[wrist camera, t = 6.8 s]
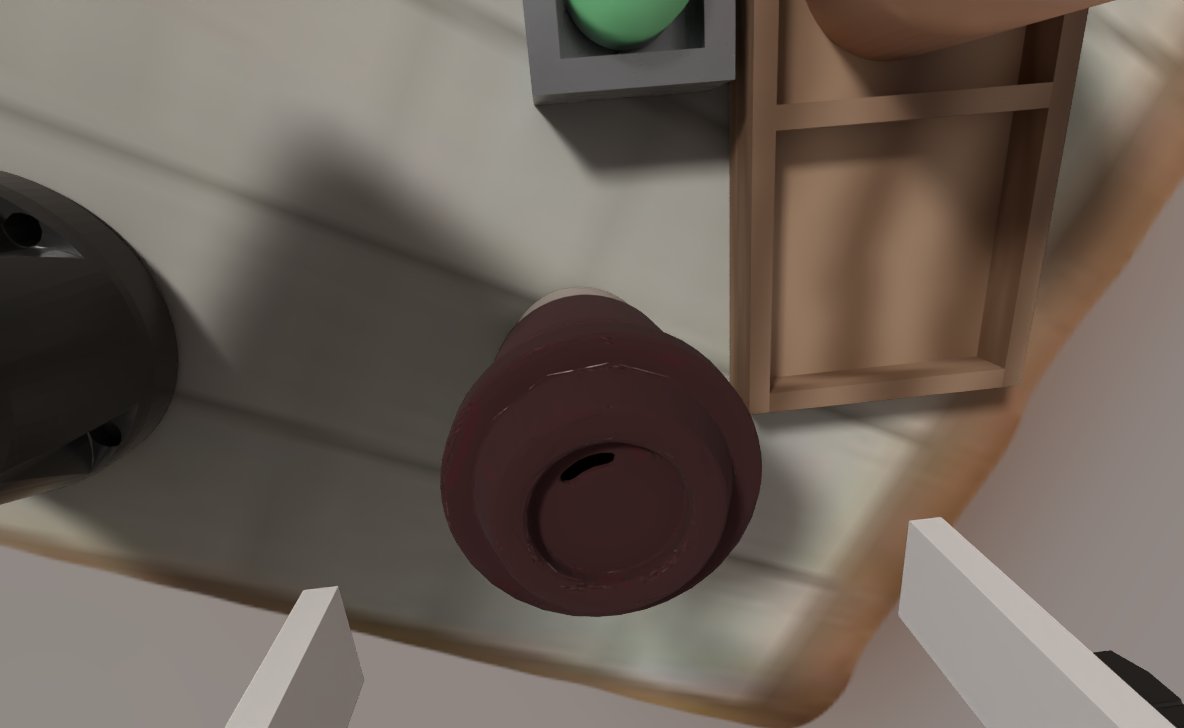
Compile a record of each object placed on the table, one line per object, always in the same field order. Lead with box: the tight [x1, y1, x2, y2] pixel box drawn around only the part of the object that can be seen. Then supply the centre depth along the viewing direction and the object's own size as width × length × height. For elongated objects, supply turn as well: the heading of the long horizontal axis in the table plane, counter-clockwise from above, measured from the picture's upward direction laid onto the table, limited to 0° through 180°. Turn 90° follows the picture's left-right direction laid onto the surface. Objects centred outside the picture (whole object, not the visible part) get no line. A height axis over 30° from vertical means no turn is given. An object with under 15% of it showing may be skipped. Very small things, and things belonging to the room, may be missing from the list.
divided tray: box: [730, 0, 1089, 414], centre depth 26 cm, size 14×27×3 cm, turn 5°
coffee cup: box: [441, 287, 762, 617], centre depth 23 cm, size 10×10×15 cm
